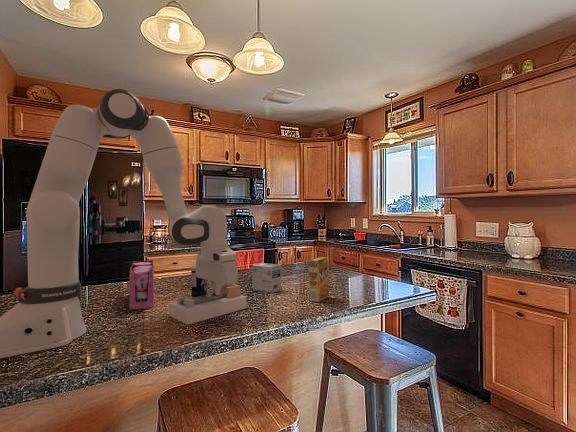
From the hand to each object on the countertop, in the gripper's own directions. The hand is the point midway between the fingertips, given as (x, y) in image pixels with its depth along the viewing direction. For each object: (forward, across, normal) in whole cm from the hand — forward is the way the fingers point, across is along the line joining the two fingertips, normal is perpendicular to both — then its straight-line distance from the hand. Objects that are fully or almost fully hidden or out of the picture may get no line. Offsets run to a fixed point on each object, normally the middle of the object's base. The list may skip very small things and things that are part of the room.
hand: (216, 294), depth 110 cm
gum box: (+5, -31, -12) cm, 33 cm away
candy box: (+7, +17, +34) cm, 39 cm away
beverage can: (+6, -18, +4) cm, 19 cm away
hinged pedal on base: (+5, 0, -3) cm, 6 cm away
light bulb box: (+6, -8, +30) cm, 32 cm away
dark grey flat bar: (+1, 0, -4) cm, 4 cm away
